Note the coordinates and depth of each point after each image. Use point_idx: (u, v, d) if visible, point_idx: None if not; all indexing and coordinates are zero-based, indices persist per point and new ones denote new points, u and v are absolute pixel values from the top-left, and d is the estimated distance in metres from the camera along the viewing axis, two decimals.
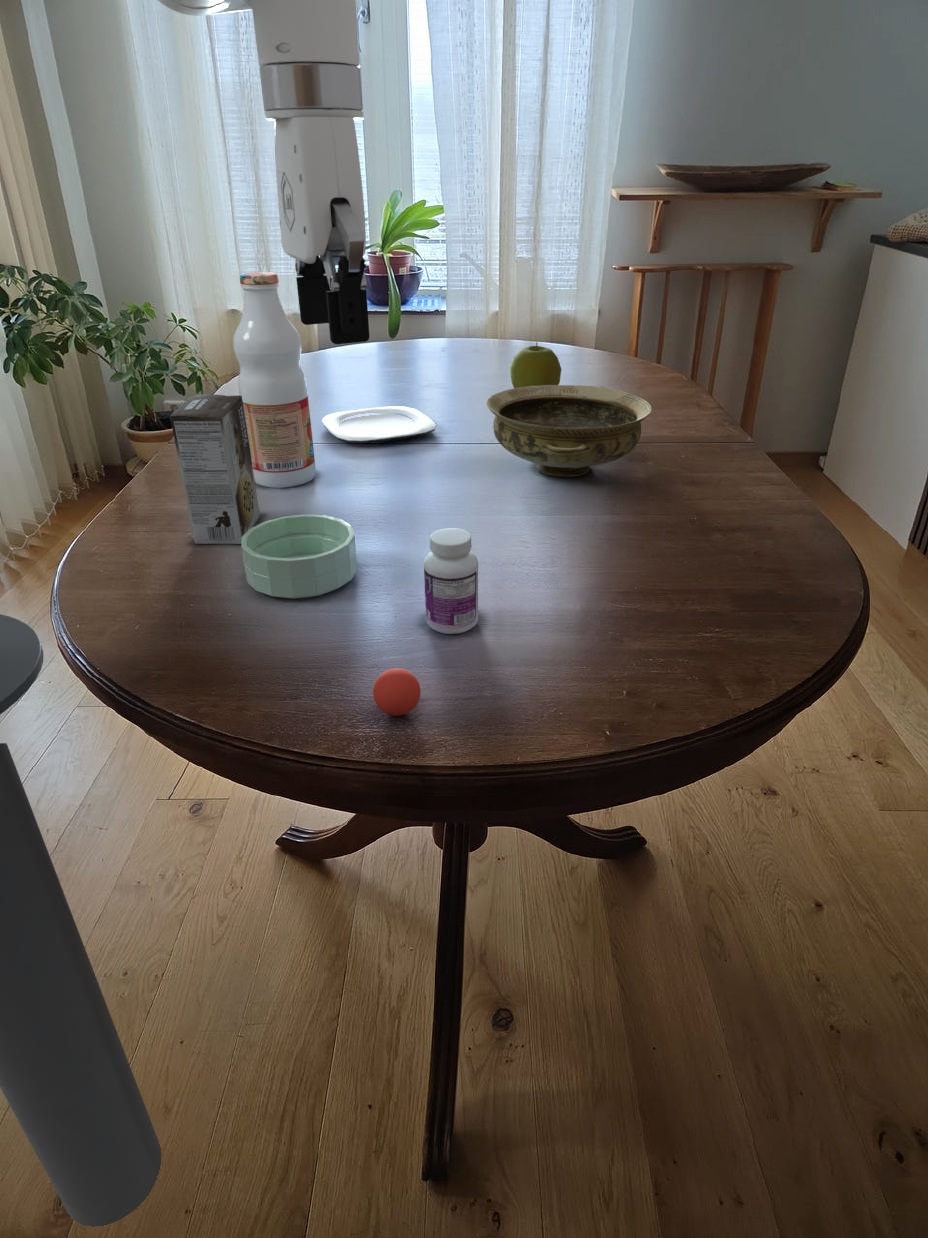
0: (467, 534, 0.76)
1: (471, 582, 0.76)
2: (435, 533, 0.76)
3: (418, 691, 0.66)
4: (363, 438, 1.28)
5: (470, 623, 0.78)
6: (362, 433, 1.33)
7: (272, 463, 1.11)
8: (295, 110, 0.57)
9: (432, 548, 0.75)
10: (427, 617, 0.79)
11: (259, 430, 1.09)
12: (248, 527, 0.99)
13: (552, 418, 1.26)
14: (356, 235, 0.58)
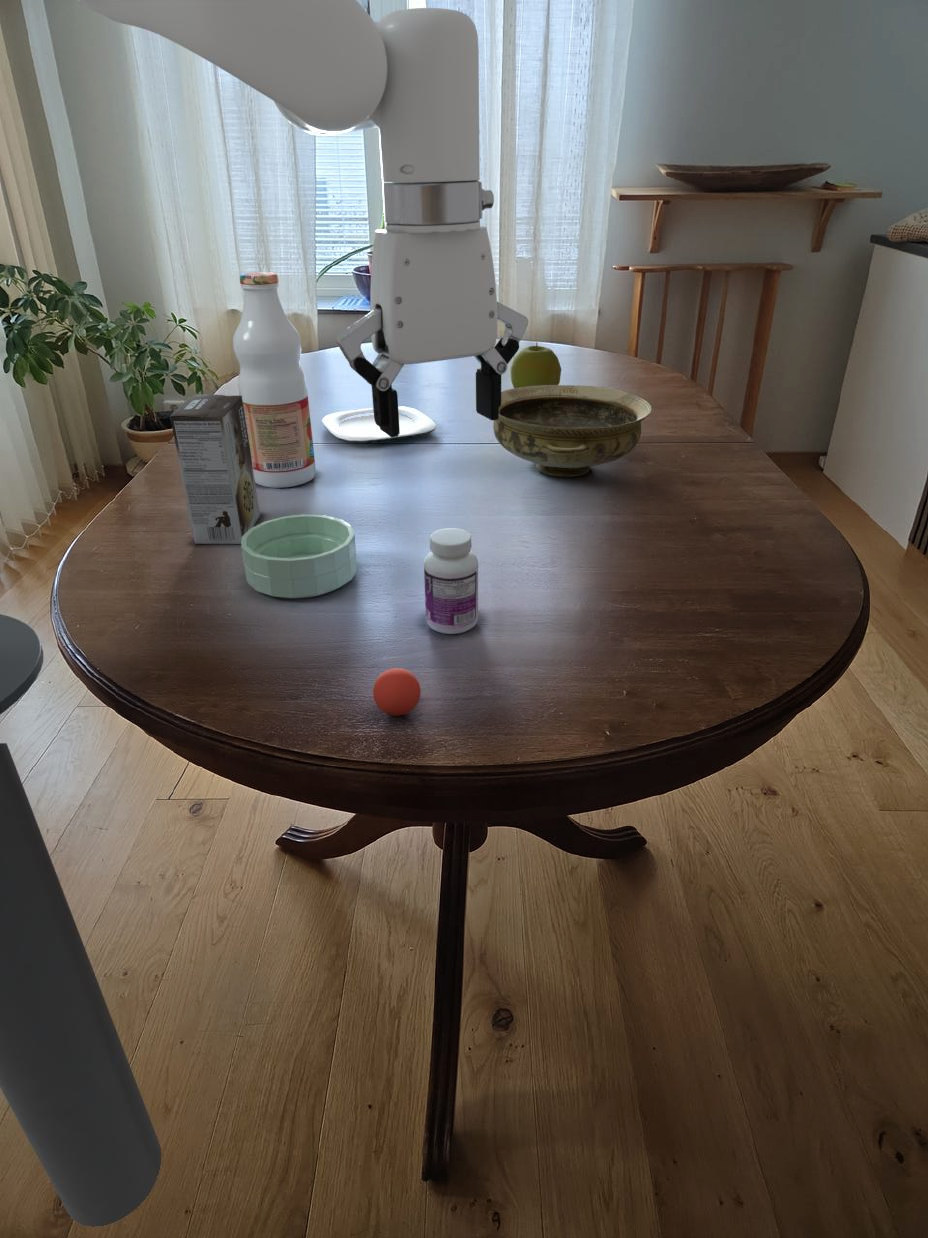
0: (467, 534, 0.76)
1: (471, 582, 0.76)
2: (435, 533, 0.76)
3: (418, 691, 0.66)
4: (363, 438, 1.28)
5: (470, 623, 0.78)
6: (362, 433, 1.33)
7: (272, 463, 1.11)
8: None
9: (432, 548, 0.75)
10: (427, 617, 0.79)
11: (259, 430, 1.09)
12: (248, 527, 0.99)
13: (552, 418, 1.26)
14: (339, 339, 0.63)
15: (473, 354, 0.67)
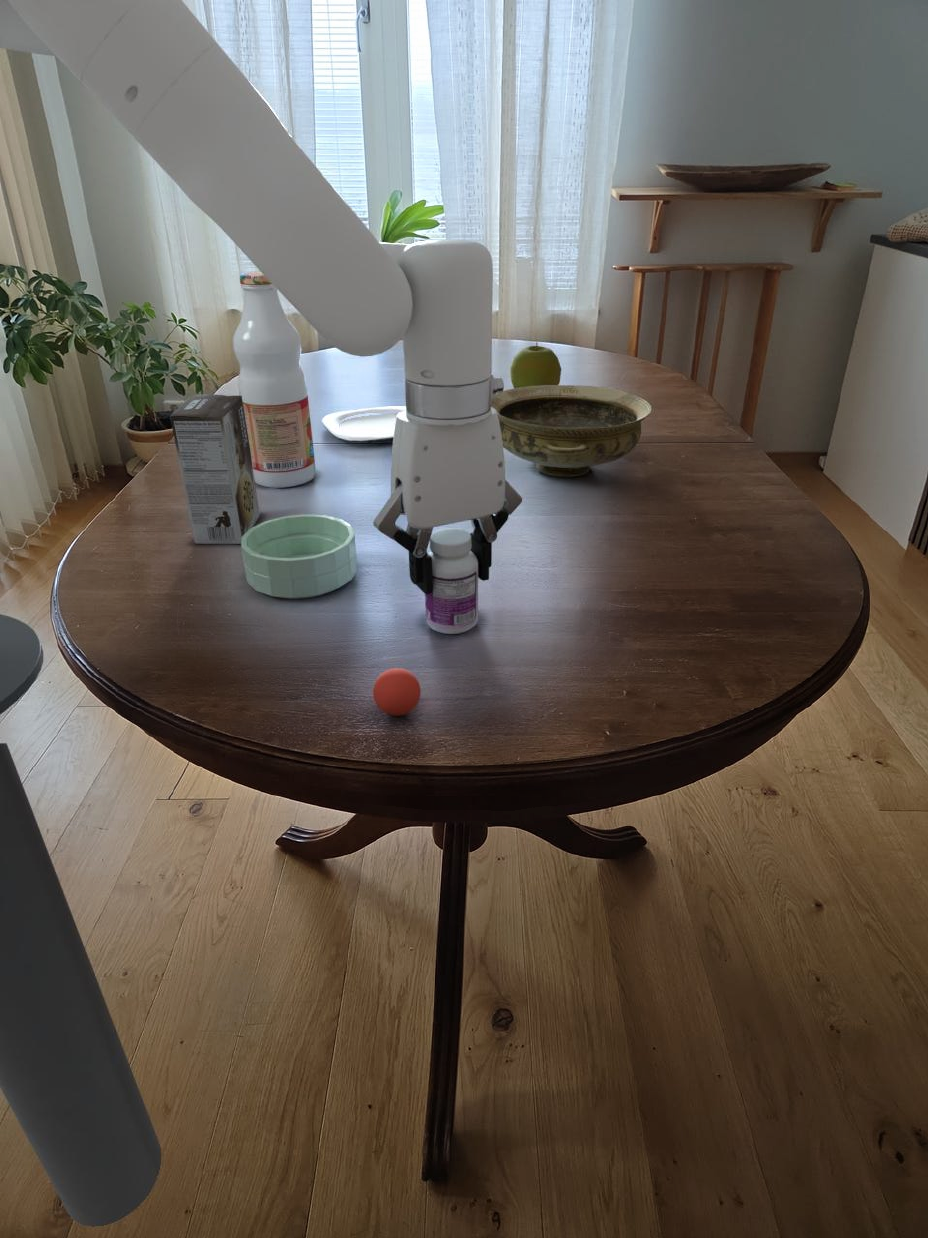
0: (467, 534, 0.76)
1: (471, 582, 0.76)
2: (435, 533, 0.76)
3: (418, 691, 0.66)
4: (363, 438, 1.28)
5: (470, 623, 0.78)
6: (362, 433, 1.33)
7: (272, 463, 1.11)
8: None
9: (432, 548, 0.75)
10: (427, 617, 0.79)
11: (259, 430, 1.09)
12: (248, 527, 0.99)
13: (552, 418, 1.26)
14: (376, 525, 0.71)
15: (483, 516, 0.74)
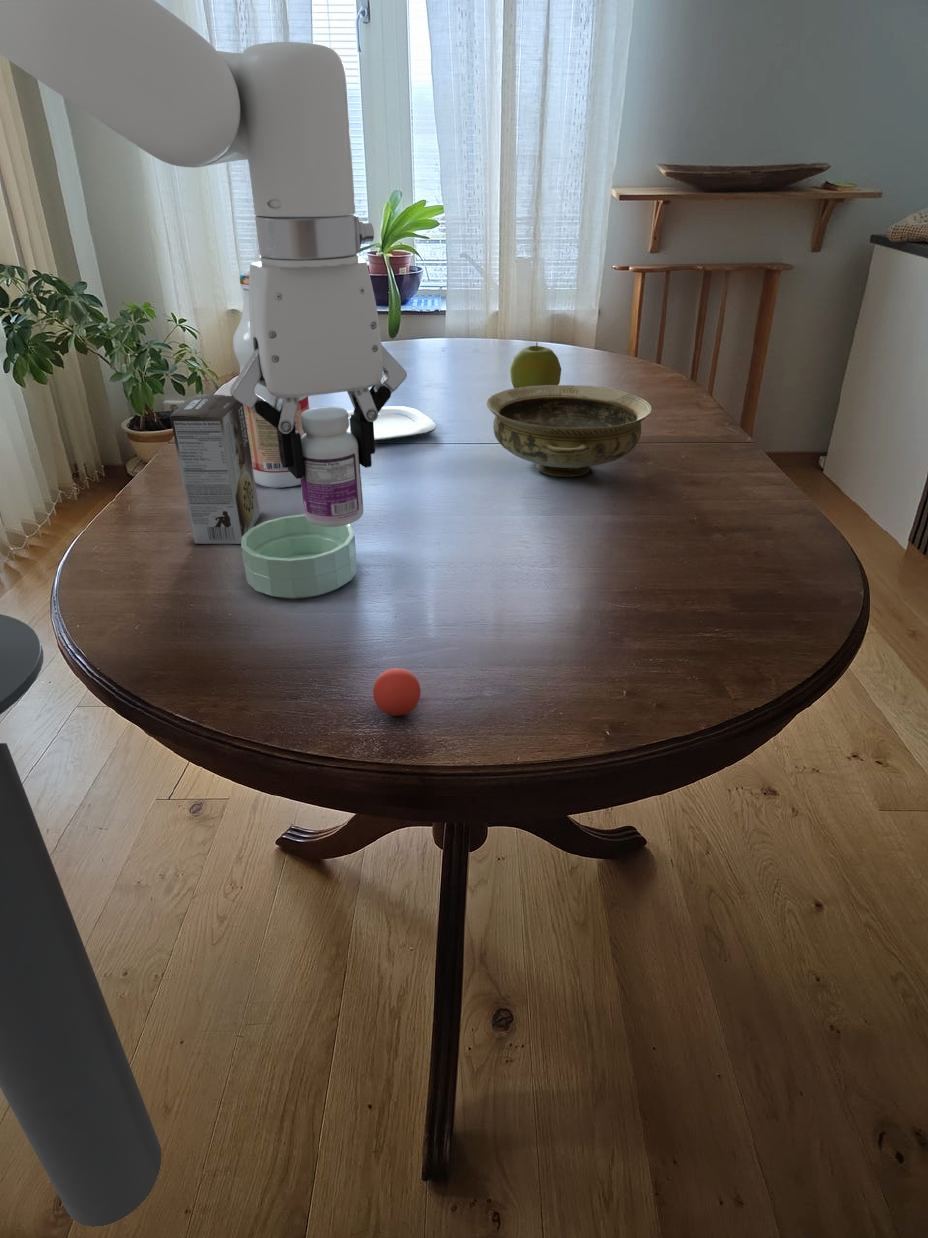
0: (343, 411, 0.67)
1: (349, 465, 0.68)
2: (308, 410, 0.68)
3: (418, 691, 0.66)
4: None
5: (351, 515, 0.70)
6: None
7: (272, 463, 1.11)
8: None
9: (302, 425, 0.67)
10: (304, 508, 0.71)
11: (259, 430, 1.09)
12: (248, 527, 0.99)
13: (552, 418, 1.26)
14: (232, 393, 0.63)
15: (358, 388, 0.66)
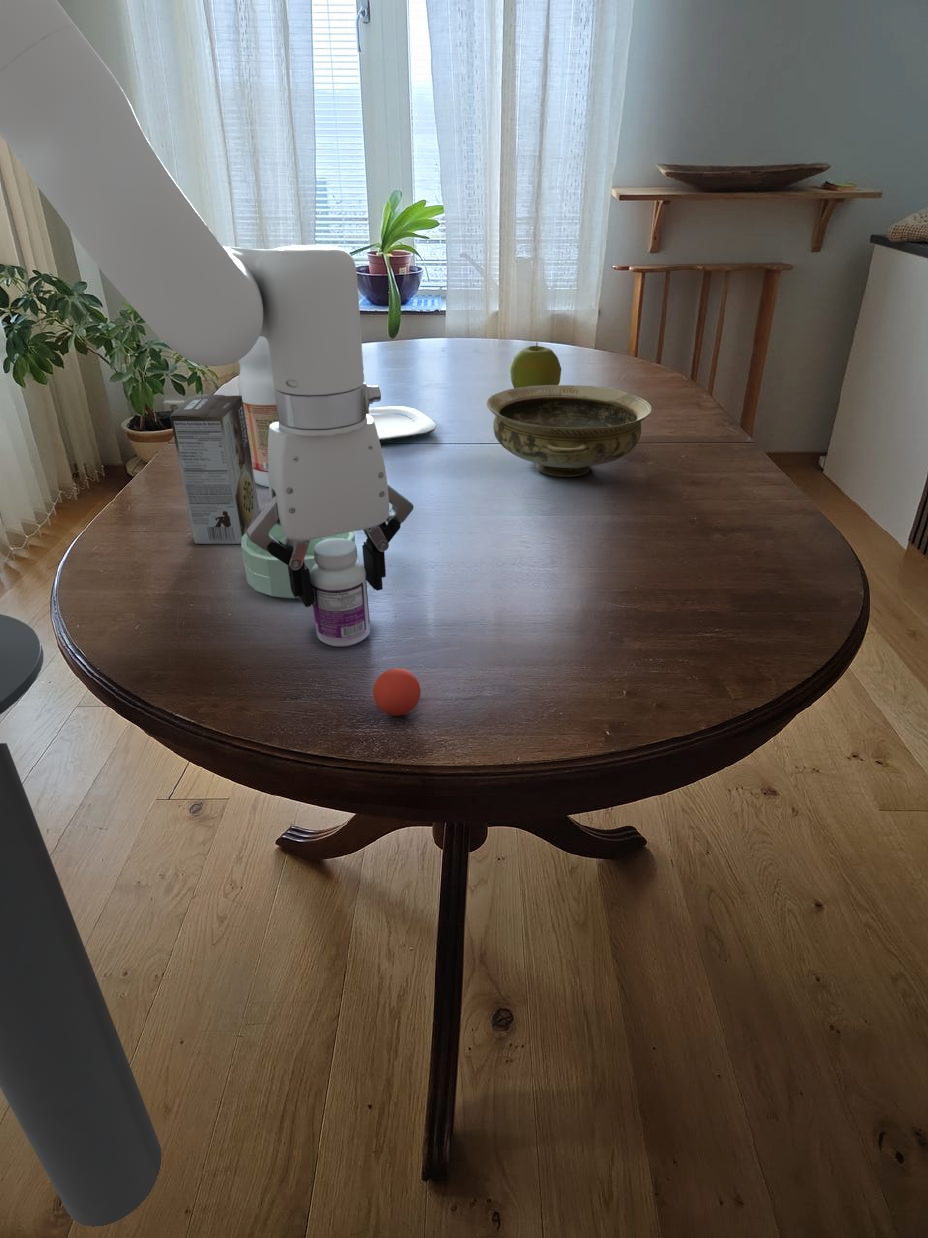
0: (352, 544, 0.74)
1: (357, 593, 0.74)
2: (320, 543, 0.74)
3: (418, 691, 0.66)
4: None
5: (359, 635, 0.76)
6: None
7: None
8: None
9: (315, 559, 0.73)
10: (316, 629, 0.77)
11: (259, 430, 1.09)
12: (248, 527, 0.99)
13: (552, 418, 1.26)
14: (248, 535, 0.69)
15: (366, 528, 0.72)
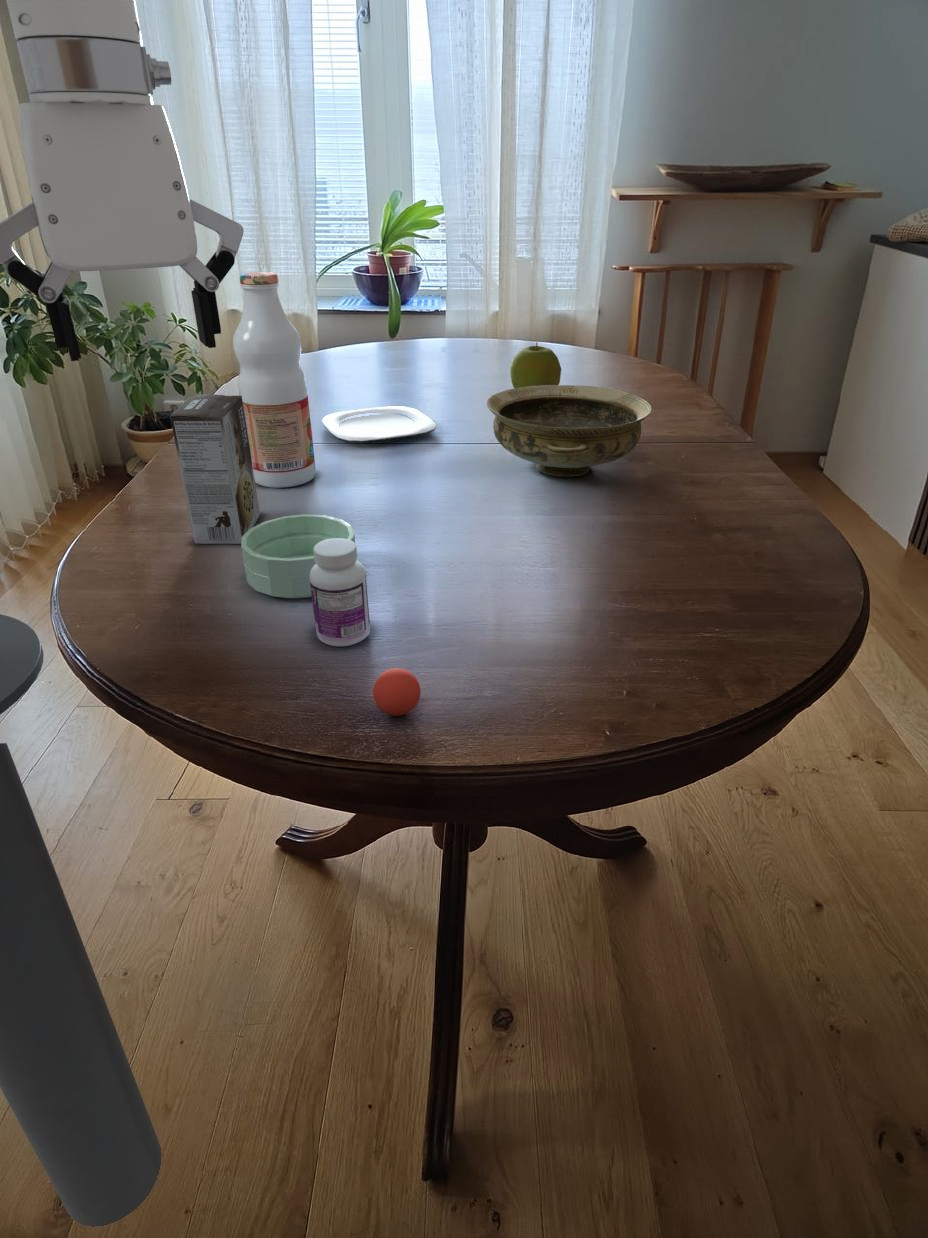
0: (352, 544, 0.74)
1: (357, 593, 0.74)
2: (320, 543, 0.74)
3: (418, 691, 0.66)
4: (363, 438, 1.28)
5: (359, 635, 0.76)
6: (362, 433, 1.33)
7: (272, 463, 1.11)
8: None
9: (315, 559, 0.73)
10: (316, 629, 0.77)
11: (259, 430, 1.09)
12: (248, 527, 0.99)
13: (552, 418, 1.26)
14: None
15: (166, 264, 0.56)
